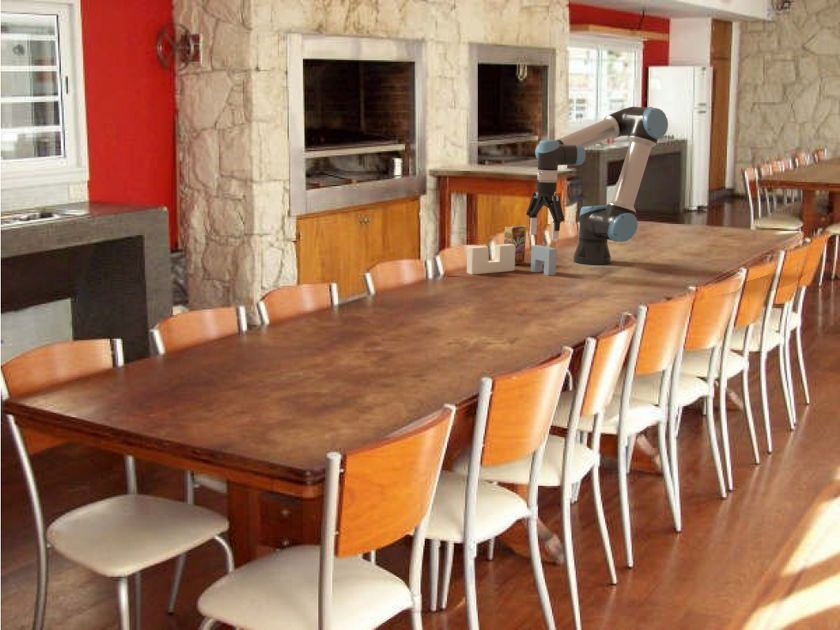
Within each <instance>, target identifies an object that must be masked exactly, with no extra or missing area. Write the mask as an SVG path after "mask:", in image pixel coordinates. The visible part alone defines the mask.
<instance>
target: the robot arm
mask: <svg viewBox="0 0 840 630" xmlns="http://www.w3.org/2000/svg"><path fill="white" fill-rule="evenodd" d="M668 127H669V121H668V117H667V114H666V113H665V111H663V110H662V109H660V108H657V107H653V106H648V107H647V106H646V107H645V106H629V107H625V108H622V109H620V110H617V111H615V112H612V113H611V114H610V113H609V114H608V115H606V116H605V117H604V118H603V120H601V121H598V122H596V123H593V124H591V125H588V126H586V127H584V128H582V129H579V130H576V131H574V132H572V133H569V134H567V135H565V136H563V137H560V138H558V139H541V140H540V141H539V142H538V143H539V144H537V145H536V147H535V150H534V151H535V152H534V153H535V157H536V159H537V178H536V180H537V181H536V188H535V189H536V191H537V192H535V191H534V192H532V196H531V200H530V203H529V205H528V208H527V211H526V213H525V215H526V216H528V217H529V236H535V235H536V236H537V231H538V230H537V229H538V227H537V226H538V217H537V216H538V214H539V213H540V211H541V209H542V208H543V207H546V208H547V209H548V210H549V213H550V215H551V217H552V220H553V221H552V226H551V240H552V241H553V240H554V241H556V240H559V237H560V230H561V227H560V226H561V222H564V221H565V215H564V212H563V208H562V204H561V196H560V195H555V192H557V188H558V187H557V185H558V183H557V181H558V172H559V171H558V170H559V169H558V168H559V166H580V165H583V163H584V162H585V160H586V156H587V155H586V154H587V153H586V149H587V148H589V147H592V146H593V145H596V144H599V143H601V142H603V141H606V140H608V139H612V140H613V139H617V138H620V137H627V139H628V141H629V145H628V148H627V151H626V155H625V158H624V161H623V165H622V168H621V171H620V174H619V178H618V181H617V185H616V188H615V191H614V195H613V198H612V200H611V201H610V202H608V203H607V204H606V205H589V206H588V205H587V206H582V207H581V208H580V213H579V225H578V227H579V228H578V229H579V230H578V242H577V246H576V249H575V250H574V251H575V252H574V254H573V259H572V260H573V262H575V263H578V264H583V265H608V264H610V263H611V262H612V261H611V259H612V257H611V252H610V249H609V245H608V241H612V242H614V243H619V242H620V243H624V242H628V241H629V240H630V239H632V238H633V237H634V236H635V234H637V230H638V226H639V225H638V219H637V217H636V213H637V211H636V209H635V207H634V206H635V204H636V203H635V202H636V199H637V196H638V192H639V189H640V186H641V182H642V179H643V176H644V172H645V169H646V167H647V163H648V160H649V156H650V153H651V150H652V148H654V147H656V146H657V144H658V141H659V139H661V138H663V137H664V136H665V135H666V133H667V131H668Z"/></svg>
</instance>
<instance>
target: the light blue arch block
mask: <svg viewBox="0 0 840 630" xmlns="http://www.w3.org/2000/svg"><path fill="white" fill-rule="evenodd" d="M557 252H558V250H557V248H554V247H551V246H545V245H541V244H534V245H531V253H530V254H531V255H530V272H532V273H541V272H543V275H544V276H548V275H550V276H556V273H557V272H556V271H557ZM543 262H544V263H543Z"/></svg>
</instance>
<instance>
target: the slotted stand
mask: <svg viewBox="0 0 840 630" xmlns="http://www.w3.org/2000/svg"><path fill="white" fill-rule="evenodd" d="M466 249H467V250H466V253H467V254H466V258H467V259H466V274H469V275H479V274H480V275H481V274H489V273H491V274H493V273H501V272H502V273H504V272H513V271H515V266H516V264H515V245H513V244H504V243H503V244H495V245H494V260H493V259H492V260H489V246H486V245H477V246H467V248H466ZM515 272H516V271H515Z"/></svg>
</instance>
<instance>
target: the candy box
mask: <svg viewBox="0 0 840 630" xmlns="http://www.w3.org/2000/svg"><path fill="white" fill-rule="evenodd" d="M526 235H527V226H526V225H511V226H505V227H504V239H503V240H504V241H503V244H513V245H515V265H520V264H525V255H526V253H525V252H526V240H527V239H526V237H527V236H526Z"/></svg>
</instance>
